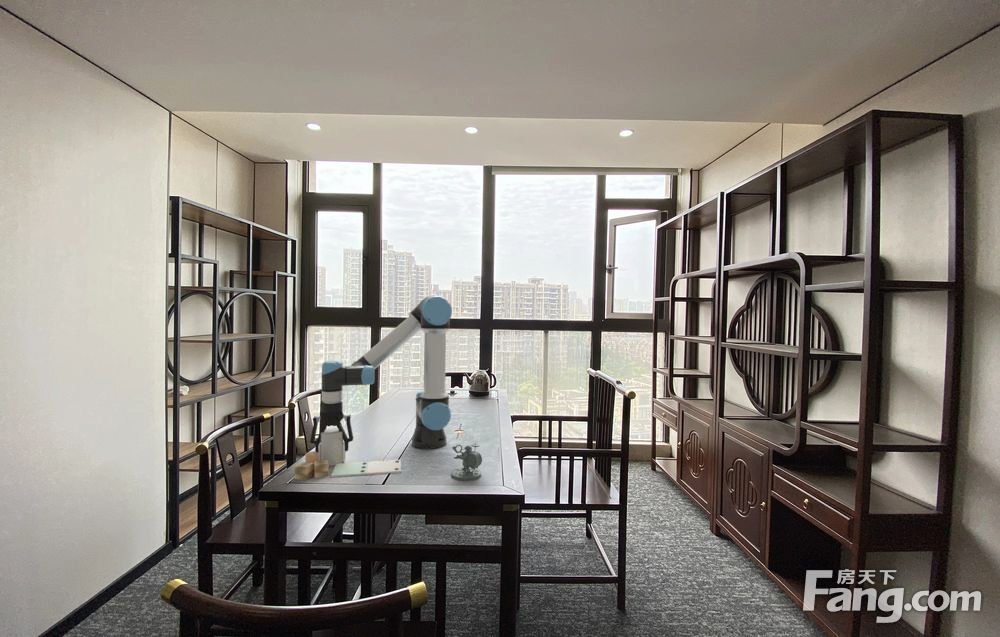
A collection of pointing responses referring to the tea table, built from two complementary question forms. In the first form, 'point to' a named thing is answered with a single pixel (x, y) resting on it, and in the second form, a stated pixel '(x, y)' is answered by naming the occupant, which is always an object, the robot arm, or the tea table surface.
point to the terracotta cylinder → (311, 457)
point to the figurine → (467, 464)
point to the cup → (332, 446)
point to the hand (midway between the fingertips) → (332, 460)
